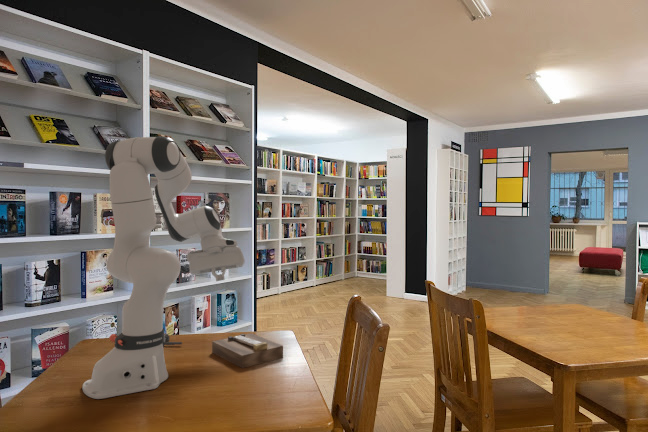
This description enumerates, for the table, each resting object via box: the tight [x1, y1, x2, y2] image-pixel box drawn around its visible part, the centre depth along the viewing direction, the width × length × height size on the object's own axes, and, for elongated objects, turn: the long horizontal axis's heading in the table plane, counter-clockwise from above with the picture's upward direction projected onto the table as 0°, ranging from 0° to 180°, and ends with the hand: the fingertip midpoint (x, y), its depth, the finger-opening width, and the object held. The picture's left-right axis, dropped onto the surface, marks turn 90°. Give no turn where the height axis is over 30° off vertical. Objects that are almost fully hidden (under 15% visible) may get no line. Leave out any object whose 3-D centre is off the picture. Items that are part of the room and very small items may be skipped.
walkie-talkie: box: [164, 333, 183, 346], centre depth 163 cm, size 9×4×20 cm
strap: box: [232, 335, 262, 347], centre depth 150 cm, size 3×14×1 cm, turn 42°
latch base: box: [211, 332, 284, 369], centre depth 150 cm, size 16×20×6 cm
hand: (220, 279), depth 160 cm, fingers closed
